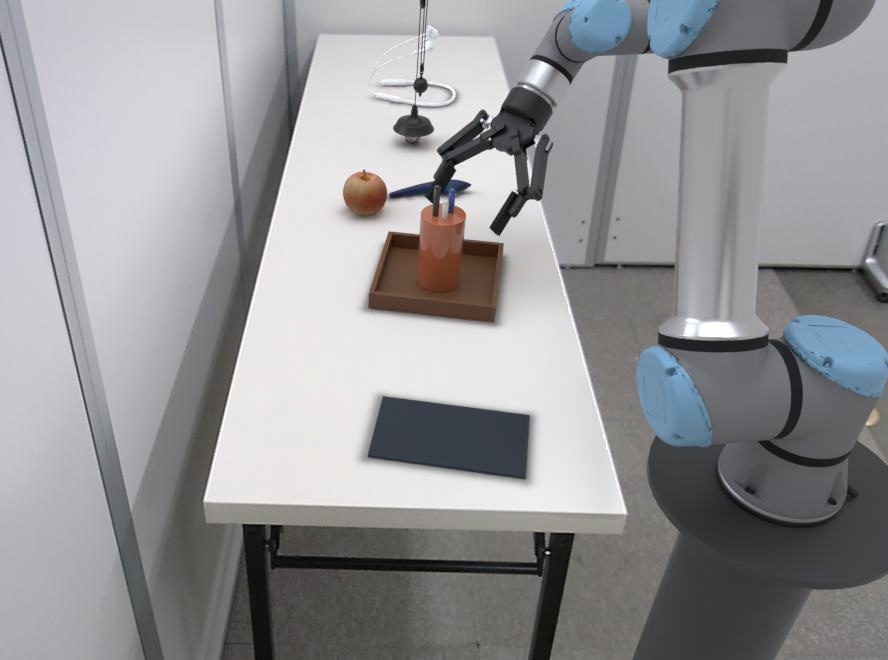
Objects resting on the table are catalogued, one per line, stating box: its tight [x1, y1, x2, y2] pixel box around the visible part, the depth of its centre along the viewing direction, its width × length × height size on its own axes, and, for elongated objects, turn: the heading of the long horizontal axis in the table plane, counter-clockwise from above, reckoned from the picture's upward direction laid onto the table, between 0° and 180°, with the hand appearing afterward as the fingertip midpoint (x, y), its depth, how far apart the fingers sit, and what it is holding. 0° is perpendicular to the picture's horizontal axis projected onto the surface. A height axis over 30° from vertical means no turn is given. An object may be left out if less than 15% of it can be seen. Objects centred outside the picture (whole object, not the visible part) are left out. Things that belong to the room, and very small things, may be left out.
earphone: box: [367, 25, 457, 107], centre depth 205 cm, size 14×17×18 cm
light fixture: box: [392, 0, 435, 146], centre depth 176 cm, size 10×8×31 cm
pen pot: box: [417, 185, 467, 292], centre depth 141 cm, size 7×7×17 cm
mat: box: [367, 395, 530, 480], centre depth 118 cm, size 20×12×1 cm, turn 79°
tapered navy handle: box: [388, 178, 472, 199], centre depth 169 cm, size 16×4×2 cm, turn 99°
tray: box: [367, 231, 505, 323], centre depth 146 cm, size 20×20×3 cm
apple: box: [342, 169, 388, 216], centre depth 162 cm, size 8×8×8 cm
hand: (461, 216), depth 142 cm, fingers open, 13 cm apart
